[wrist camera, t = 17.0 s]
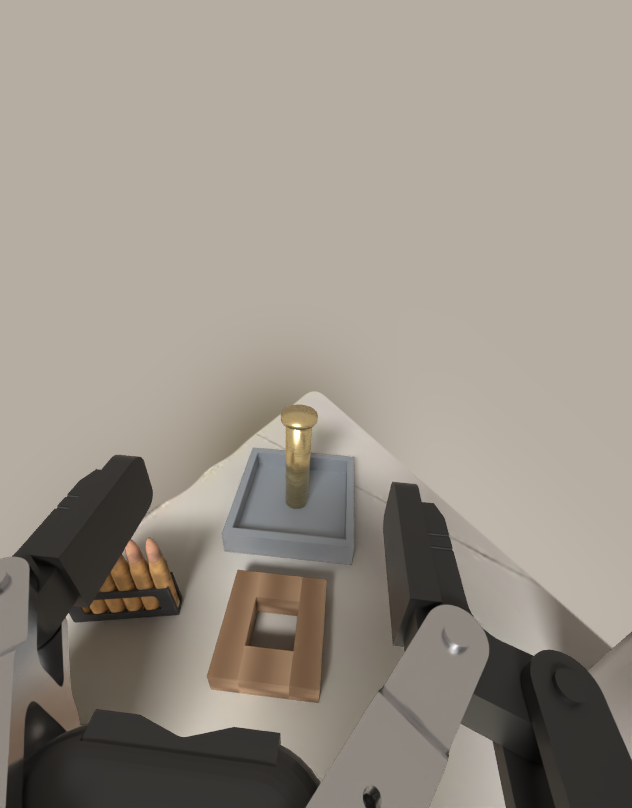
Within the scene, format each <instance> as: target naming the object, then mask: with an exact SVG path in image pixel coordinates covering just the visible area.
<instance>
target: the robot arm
mask: <svg viewBox="0 0 632 808" xmlns="http://www.w3.org/2000/svg"><path fill="white" fill-rule="evenodd" d="M152 496H153V490H152V486H151V483H150V480H149V476H148V473H147V470H146V467H145V463H144V460H143V459H142V458H141V457H135V456H125V455H115V456H113V457H112V458H111V459H110V460H109V461H108V463H107V464H106V465H105V466H104V467H103V469H102V470H97V469H96V470H95V471H93V472H92V473H90V474H89V475H87V476H86V477H84V478H83V479H81V480H80V481H79V482H78V483H77V484H76V485H75V486H74V488H73V489H72V490H71V491H70V492H69V493H68V496H67V497H65V498H64V499H63V500H62V501H61V502H60V503H59V505H58V507H57V509H54V510H53V511H52V512H51V514H50V515H49V516H48V517H47V518H46V519H45V520H44V521H43V523H42V524H41V525H40V526H39V527H38V528H37V529H36V531H35V532H34V533H33V534H32V535H31V536H30V537H29V539H28V540H27V541H26V542H25V543H24V544H23V545H22V546H21V548H20V549H19V550H18V551H17V552H16V553H15V554H14V555H13V556H12V557H7V558H2V559H0V808H429V806H430V804H431V801H432V799H433V796H434V794H435V792H436V789H437V787H438V785H439V782H440V780H441V777H442V775H443V772H444V770H445V767H446V764H447V761H448V757H449V754H448V753H449V749H450V746H451V744H452V741H453V739H454V737H455V734H456V732H457V730H458V727H459V725H460V723H461V724H462V725H464V726H466V727H468V728H470V729H472V730H474V731H475V732H477V733H479V734H481V735H483V736H485V737H486V738H488V739H490V740H492V741H493V745H494V750H495V755H496V760H497V765H498V770H499V775H500V780H501V785H502V790H503V795H504V800H505V805H506V808H632V632H631V633H630V634H629V635H627V636H626V637H625V638H624V639H623V640H622V641H621V642H620V643H618V644H617V645H616V646H615V647H614V648H613V649H612V650H610V651H609V652H608V653H607V654H606V655H605V656H604V657H602V658H601V659H600V660H599V661H598V662H597V663H596V664H595V665H593V666H592V667H591V668H590V669H589V670H588V671H587V670H586V669H585V668H584V667H583V666H582V665H581V664H580V663H578V662H577V661H576V660H574V659H573V658H571V657H569V656H568V655H566V654H564V653H561V652H558V651H554V650H543V651H541V652H538V653H537V654H536V655H535V656H533V655H530V654H528V653H526V652H524V651H522V650H519V649H517V648H515V647H513V646H511V645H508V644H506V643H504V642H502V641H500V640H498V639H496V638H495V637H493V636H492V635H490V634H489V633H488V632H487V631H485V630H484V629H483V628H482V627H481V625H480V624H479V623H478V621H477V620H476V619H475V618H474V617H473V615H472V613H471V611H470V609H469V607H468V604H467V601H466V597H465V593H464V590H463V586H462V582H461V578H460V575H459V571H458V567H457V563H456V559H455V556H454V552H453V551H452V544H451V541H450V538H449V533H448V529H447V526H446V522H445V518H444V517H443V515H442V514H441V513H440V511H439V510H438V508H437V507H436V506H435V504H434V503H424V502H421V497H420V493H419V488H418V486H417V484H408V483H398V482H392V484H391V488H390V492H389V497H388V501H387V505H386V509H385V514H384V523H383V533H384V545H385V557H386V569H387V580H388V592H389V604H390V615H391V627H392V639H393V645H395V646H403V647H404V650H405V653H404V654H403V656H402V658H401V659H400V661H399V662H398V664H397V666H396V667H395V669H394V671H393V672H392V674H391V675H390V677H389V679H388V680H387V682H386V683H385V685H384V686H383V687H382V688H381V689H380V690H379V691H378V693H377V694H376V696H375V697H374V699H373V700H372V702H371V703H370V705H369V706H368V708H367V710H366V711H365V713H364V714H363V716H362V718H361V719H360V721H359V723H358V724H357V726H356V727H355V729H354V731H353V732H352V734H351V735H350V737H349V739H348V740H347V742H346V743H345V745H344V747H343V748H342V750H341V751H340V753H339V755H338V756H337V758H336V759H335V761H334V763H333V764H332V766H331V768H330V769H329V771H328V772H327V774H326V776H325V777H324V779H323V780H322V782H321V783H320V781H319V780H318V778H317V777H316V776H315V774H314V773H313V771H312V770H311V769H310V768H309V767H308V766H307V764H306V763H305V762H304V761H303V760H302V759H301V758H299V757H298V756H297V755H296V754H294V753H293V752H292V751H290V750H289V749H287V748H285V747H283V746H281V741H280V733H275V732H268V731H260V730H252V729H245V728H237V727H232V728H228V729H223V730H218V731H213V732H209V733H204V734H199V735H194V736H189V737H180V736H177V735H175V734H174V733H172V732H170V731H168V730H166V729H165V728H163V727H161V726H159V725H157V724H156V723H154V722H152V721H150V720H149V719H147V718H145V717H143V716H141V715H137V714H129V713H122V712H114V711H106V710H99V709H96V710H95V712H94V714H93V716H92V718H91V720H90V722H89V723H88V724H85V725H82V726H80V721H79V716H78V711H77V708H76V705H75V702H74V699H73V696H72V691H71V680H70V662H69V643H68V624H67V619H66V616H67V614H68V613H69V611H70V610H71V608H72V606H75V607H83V608H89V607H90V605H91V604H92V602H93V600H94V599H95V597H96V595H97V594H98V592H99V590H100V589H101V587H102V586H103V584H104V582H105V581H106V579H107V577H108V576H109V574H110V572H111V571H112V569H113V567H114V566H115V564H116V562H117V561H118V559H119V557H120V556H121V554H122V552H123V551H124V549H125V547H126V546H127V544H128V542H129V541H130V539H131V538H132V536H133V534H134V533H135V531H136V529H137V528H138V526H139V524H140V523H141V521H142V519H143V518H144V516H145V514H146V513H147V511H148V509H149V507H150V505H151V502H152Z"/></svg>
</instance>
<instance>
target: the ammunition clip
mask: <svg viewBox="0 0 632 808" xmlns="http://www.w3.org/2000/svg"><path fill="white" fill-rule="evenodd" d="M125 550H126V555H127V558H128V562H129V564H128V562H127V561H126V560H125V559H124V557H123V555H122V554H121V556H120V557H119V559H118V561H117V562H116V564H115V566H114V567H113V569H112V571H111V572H110V574H109V576H108V577H107V579H106V581H105V582H104V584H103V586H102V587H101V589H100V590H99V592H98V594H97V595H96V597H95V599H94V600H93V602H92V604H91V605H90V607H89V608H83V607H75V606H72V608H71V610H70V611H69V614H70V616H71V618H72V619H73V621H74V622H88V621H101V620H115V619H128V618H142V617H155V616H169V615H178V614H179V612H180V607H181V602H182V595H181V593H180V591H179V588H178V586H177V583H176V581H175V578H174V575H173V573H172V572H170V571H169V568H168V565H167V562H166V560H165V559H164V558H163V556H162V553H161V552H160V549H159V547H158V545H157V544H156V542H155V541H154V540H153V539H151V538H148V539H147V541H146V554H147V557H148V562H149V565H148V563H147V561H146V560H145V559H144V557H143V555H142V554H141V551H140V549H139V547H138V546H137V545H136V543H135V542H134V541H132V540H131V539H130V541H129V542H128V544H127V546H126V547H125ZM129 565H130V566H129Z"/></svg>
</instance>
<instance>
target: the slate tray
mask: <svg viewBox="0 0 632 808" xmlns="http://www.w3.org/2000/svg"><path fill="white" fill-rule="evenodd" d="M285 486H286V451H284V450H273V449H262V448H253V449H252V451H251V454H250V457H249V460H248V463H247V465H246V468H245V471H244V474H243V476H242V479H241V482H240V485H239V488H238V490H237V493H236V496H235V499H234V501H233V504H232V507H231V510H230V512H229V515H228V518H227V521H226V524H225V526H224V529H223V532H222V538H223V544H224V551H228V552H237V553H246V554H256V555H265V556H274V557H284V558H293V559H302V560H312V561H321V562H330V563H340V564H349V565H351V564H352V558H353V552H354V457H348V456H337V455H327V454H316V453H310V470H309V487H308V502H307V504H306V506H305V507H303V508H301V509H292V508H290V507H289V506H287V504H286V502H285Z"/></svg>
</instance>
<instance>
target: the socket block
mask: <svg viewBox="0 0 632 808" xmlns="http://www.w3.org/2000/svg"><path fill="white" fill-rule="evenodd" d="M326 585H327V580H326V579H317V578H308V577H299V576H290V575H281V574H271V573H262V572H253V571H244V570H237V574H236V577H235V581H234V584H233V588H232V591H231V595H230V598H229V602H228V605H227V609H226V612H225V615H224V619H223V622H222V626H221V629H220V633H219V636H218V640H217V643H216V647H215V650H214V654H213V657H212V661H211V664H210V667H209V671H208V674H207V678H208V681H209V684H210V688H211V689H213V690H221V691H229V692H237V693H245V694H253V695H261V696H269V697H277V698H284V699H292V700H300V701H308V702H316V703H318V700H319V693H320V680H321V665H322V649H323V633H324V617H325V601H326ZM257 611H260V612H268V613H277V614H286V615H295V616H298V618H297V626H296V634H295V642H294V650H293V651H287V650H278V649H270V648H261V647H253V646H250V643H251V638H252V633H253V629H254V624H255V620H256V615H257Z"/></svg>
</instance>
